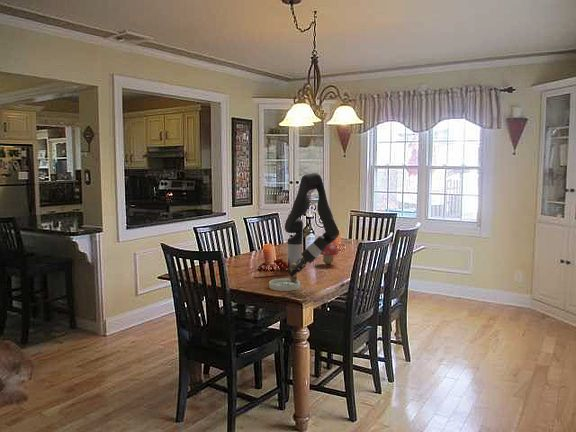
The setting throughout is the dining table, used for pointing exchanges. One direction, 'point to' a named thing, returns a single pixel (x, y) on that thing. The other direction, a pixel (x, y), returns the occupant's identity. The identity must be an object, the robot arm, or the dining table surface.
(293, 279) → the bead stack
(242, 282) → the dining table surface
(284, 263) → the decorative berry sprig
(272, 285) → the tray
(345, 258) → the dining table surface
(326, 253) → the decorative mushroom
